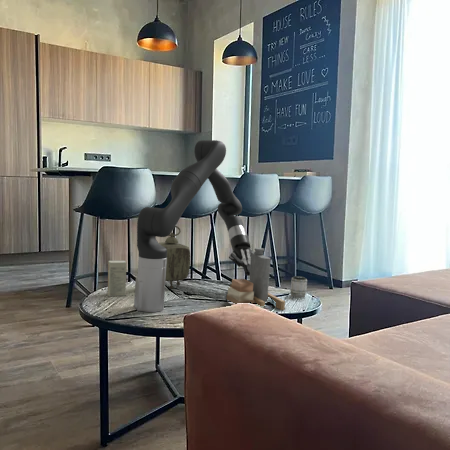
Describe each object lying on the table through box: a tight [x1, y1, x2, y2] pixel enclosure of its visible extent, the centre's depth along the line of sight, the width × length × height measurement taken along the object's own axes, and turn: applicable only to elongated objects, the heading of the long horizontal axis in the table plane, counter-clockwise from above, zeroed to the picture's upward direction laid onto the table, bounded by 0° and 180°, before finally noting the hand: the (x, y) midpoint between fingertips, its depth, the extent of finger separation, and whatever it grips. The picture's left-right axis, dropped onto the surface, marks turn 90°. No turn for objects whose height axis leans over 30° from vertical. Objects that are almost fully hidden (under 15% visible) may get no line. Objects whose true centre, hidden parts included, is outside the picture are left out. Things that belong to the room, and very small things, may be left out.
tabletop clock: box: [158, 225, 191, 290], centre depth 177 cm, size 14×9×25 cm, turn 122°
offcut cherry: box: [231, 278, 253, 292], centre depth 161 cm, size 5×7×3 cm
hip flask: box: [248, 247, 271, 302], centre depth 168 cm, size 16×4×20 cm, turn 14°
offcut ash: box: [227, 286, 254, 301], centre depth 162 cm, size 6×8×3 cm
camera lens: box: [290, 275, 308, 299], centre depth 181 cm, size 6×6×8 cm
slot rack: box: [229, 283, 286, 311], centre depth 170 cm, size 10×28×3 cm, turn 22°
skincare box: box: [107, 260, 127, 297], centre depth 162 cm, size 6×4×12 cm
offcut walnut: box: [225, 294, 255, 304], centre depth 162 cm, size 7×9×3 cm
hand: (249, 274), depth 176 cm, fingers closed
